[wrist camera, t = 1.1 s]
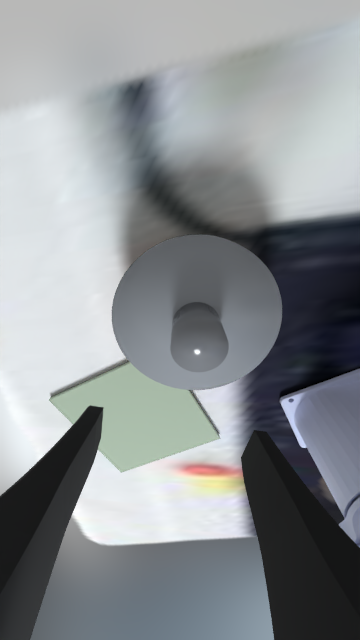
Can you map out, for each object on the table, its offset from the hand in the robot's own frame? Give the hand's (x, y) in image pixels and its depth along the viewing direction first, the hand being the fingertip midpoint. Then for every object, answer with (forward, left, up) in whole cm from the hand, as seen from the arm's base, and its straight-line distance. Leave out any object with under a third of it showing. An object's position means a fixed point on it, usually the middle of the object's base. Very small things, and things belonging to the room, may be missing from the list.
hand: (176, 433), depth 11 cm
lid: (-2, -2, -7) cm, 8 cm away
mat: (+9, +7, -10) cm, 15 cm away
